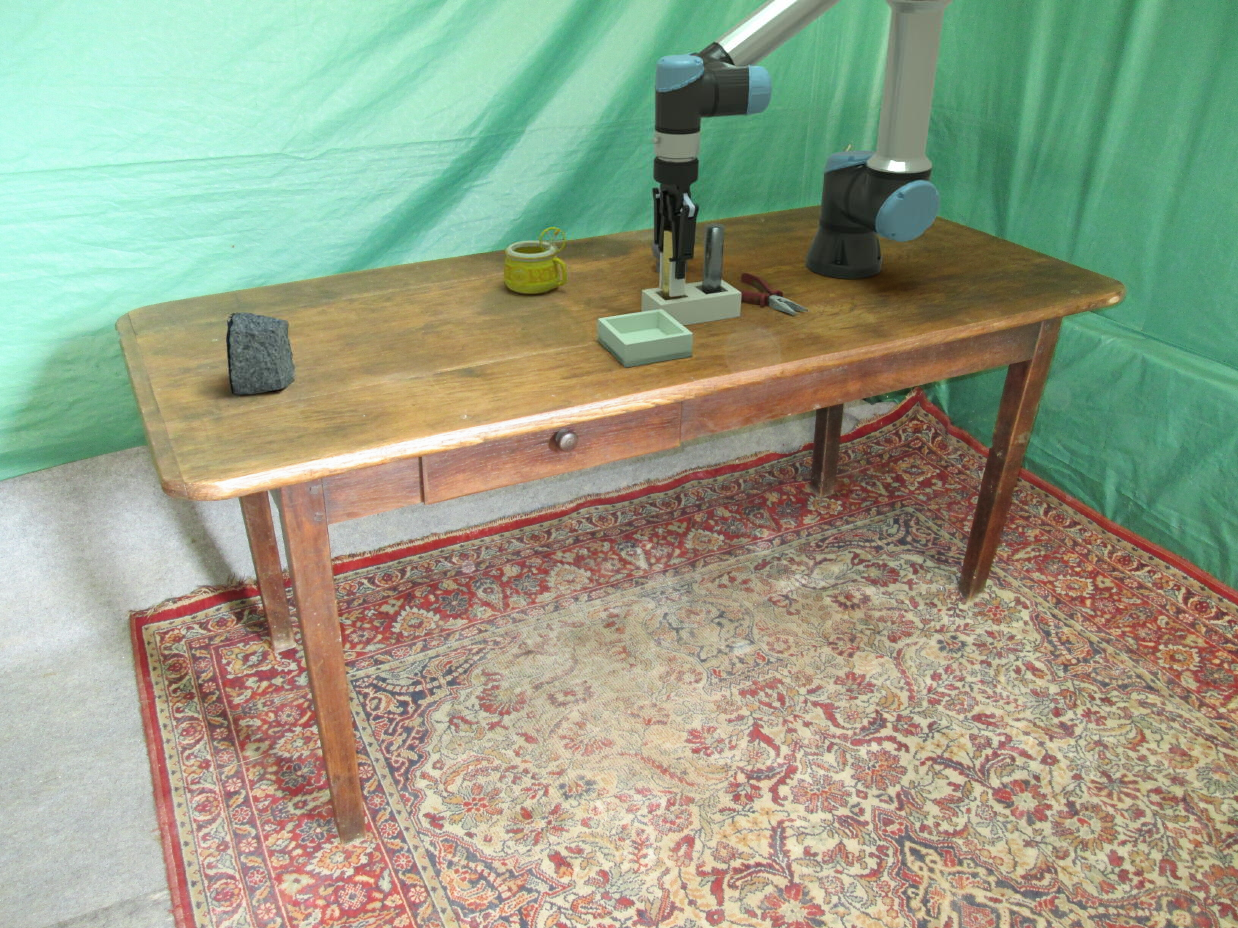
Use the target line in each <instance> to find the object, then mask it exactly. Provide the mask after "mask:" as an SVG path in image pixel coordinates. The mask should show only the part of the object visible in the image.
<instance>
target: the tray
mask: <svg viewBox="0 0 1238 928" xmlns="http://www.w3.org/2000/svg"><path fill="white" fill-rule="evenodd" d="M693 335H694V333H693V332H692V331H690V330H689V329H688V328H687V327H686V326H685V325H684V326H683V325H681V324H680V323H679V322H678V321H676V320H675V319H674V318H673V317H671V316H670V315H669V314H668V313H666V312H665V311H664V310H663V309H657V310H651V311H644V312H641V311H638V312H632V313H626V314H618V315H614V316H607V317H600V318H597V341H598V343H600V344H601V346H603V348H605V350H607V351H608V352H609V353H610V354H611V356H613V357H614V358H615V359H616V360H617V361H618V362H619V363H620V364H621V365H622V366H623V367H624V368H625V369H626V368H633V367H638V366H643V365H649V364H654V363H655V364H656V363H661V362H666V361H672V360H673V361H674V360H677V359H683V358H684V359H685V358H690V357H692V356H693V346H694V345H693V342H694V341H693V339H694V336H693Z"/></svg>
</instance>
